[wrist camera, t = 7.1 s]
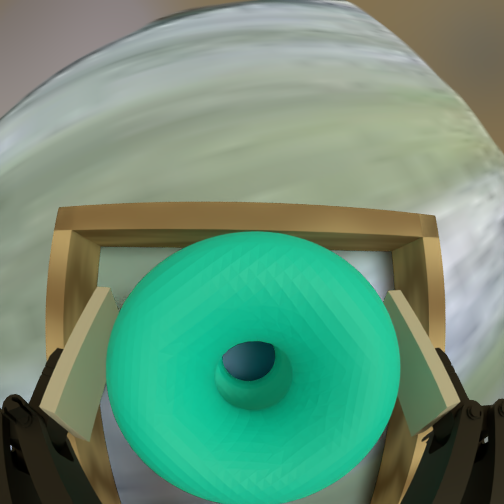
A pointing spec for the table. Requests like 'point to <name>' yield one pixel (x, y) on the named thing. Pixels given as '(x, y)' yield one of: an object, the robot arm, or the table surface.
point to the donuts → (261, 390)
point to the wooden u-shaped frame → (232, 221)
